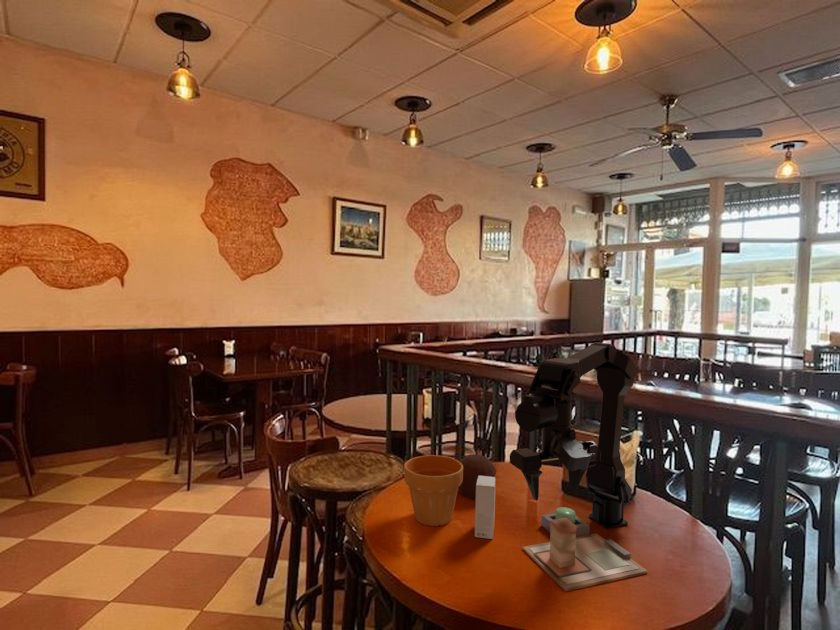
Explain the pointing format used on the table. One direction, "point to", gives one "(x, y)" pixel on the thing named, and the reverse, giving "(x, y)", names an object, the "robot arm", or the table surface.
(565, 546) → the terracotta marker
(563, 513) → the button
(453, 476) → the flower pot
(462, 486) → the muffin
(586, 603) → the table surface
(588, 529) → the button collar
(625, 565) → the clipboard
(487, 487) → the skincare box
